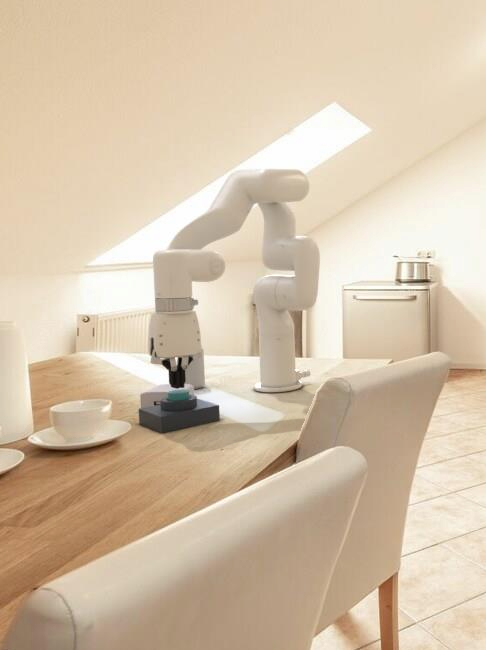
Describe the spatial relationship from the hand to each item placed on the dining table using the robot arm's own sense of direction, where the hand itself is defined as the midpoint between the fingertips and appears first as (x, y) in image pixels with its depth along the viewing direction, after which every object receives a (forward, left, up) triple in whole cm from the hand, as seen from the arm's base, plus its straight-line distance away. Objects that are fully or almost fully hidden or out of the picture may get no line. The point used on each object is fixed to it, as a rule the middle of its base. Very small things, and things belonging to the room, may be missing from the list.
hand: (177, 387), depth 141 cm
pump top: (0, 0, -3) cm, 3 cm away
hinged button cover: (-7, -18, -8) cm, 21 cm away
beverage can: (-19, -32, -8) cm, 38 cm away
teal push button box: (0, 0, -8) cm, 8 cm away
